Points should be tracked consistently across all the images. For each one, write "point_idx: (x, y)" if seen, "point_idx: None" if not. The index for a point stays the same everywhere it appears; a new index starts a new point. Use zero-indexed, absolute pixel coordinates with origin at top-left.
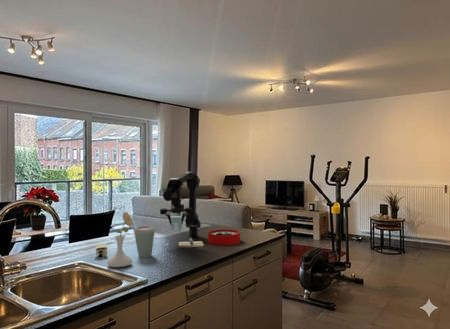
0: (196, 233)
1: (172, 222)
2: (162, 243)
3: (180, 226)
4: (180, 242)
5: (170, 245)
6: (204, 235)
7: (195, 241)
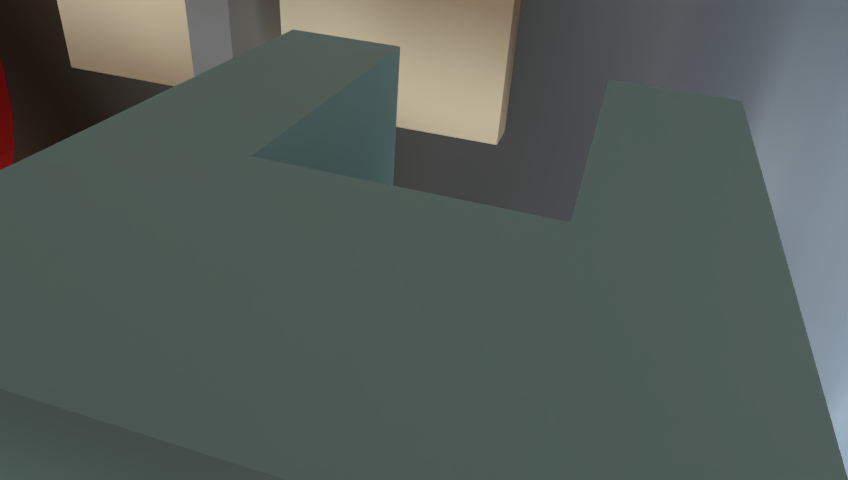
0: None
1: (689, 279)
2: (825, 299)
3: (274, 69)
4: (462, 96)
5: (718, 43)
6: None
7: (173, 75)
